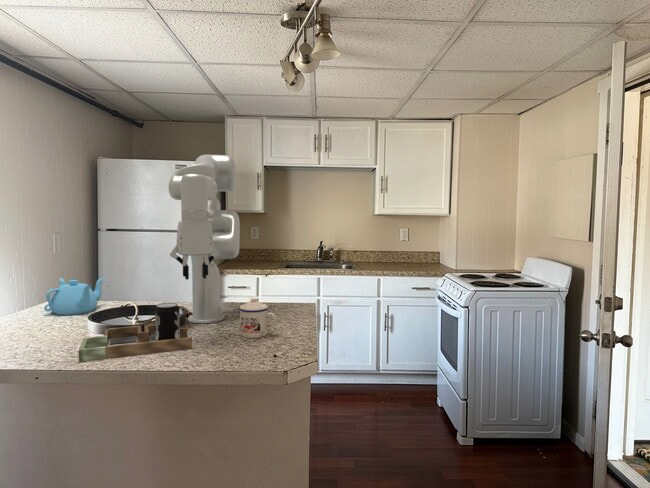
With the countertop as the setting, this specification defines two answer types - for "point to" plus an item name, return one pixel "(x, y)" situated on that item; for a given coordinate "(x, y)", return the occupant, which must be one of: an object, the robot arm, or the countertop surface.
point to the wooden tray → (100, 350)
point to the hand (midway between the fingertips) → (195, 277)
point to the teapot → (73, 298)
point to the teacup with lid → (254, 319)
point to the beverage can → (167, 321)
